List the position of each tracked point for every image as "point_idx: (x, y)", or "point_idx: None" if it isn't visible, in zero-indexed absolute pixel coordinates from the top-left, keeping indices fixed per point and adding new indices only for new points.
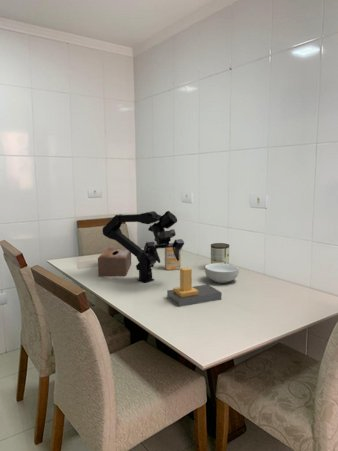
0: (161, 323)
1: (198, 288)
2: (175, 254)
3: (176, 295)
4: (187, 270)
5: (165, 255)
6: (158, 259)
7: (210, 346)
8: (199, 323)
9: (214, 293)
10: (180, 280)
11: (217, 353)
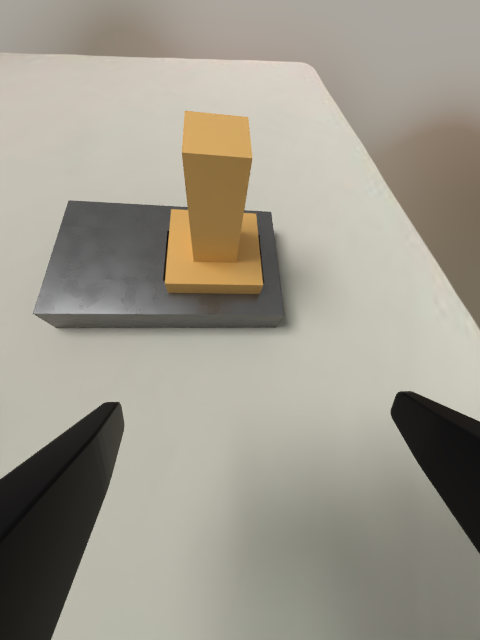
0: (344, 170)
1: (126, 278)
2: (33, 626)
3: (265, 245)
4: (218, 119)
5: None
6: (451, 409)
7: (278, 81)
8: (256, 138)
9: (105, 203)
10: (240, 227)
11: (276, 68)
